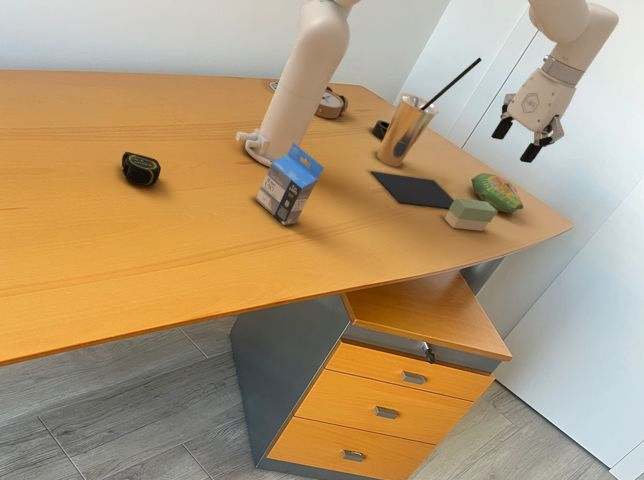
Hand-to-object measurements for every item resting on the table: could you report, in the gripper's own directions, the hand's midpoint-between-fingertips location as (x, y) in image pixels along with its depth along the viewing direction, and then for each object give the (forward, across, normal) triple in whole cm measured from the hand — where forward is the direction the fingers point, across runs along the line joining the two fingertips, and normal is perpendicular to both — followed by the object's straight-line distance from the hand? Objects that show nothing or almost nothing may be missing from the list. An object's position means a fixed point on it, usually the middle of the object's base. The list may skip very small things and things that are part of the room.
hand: (510, 149), depth 149 cm
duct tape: (+19, -42, +3) cm, 46 cm away
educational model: (+19, -12, +20) cm, 31 cm away
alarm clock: (+19, -53, -11) cm, 57 cm away
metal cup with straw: (+19, -27, -4) cm, 33 cm away
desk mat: (+19, -13, -5) cm, 23 cm away
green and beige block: (+19, 0, 0) cm, 19 cm away
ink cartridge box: (+18, +3, -53) cm, 56 cm away
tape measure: (+18, -4, -80) cm, 82 cm away
